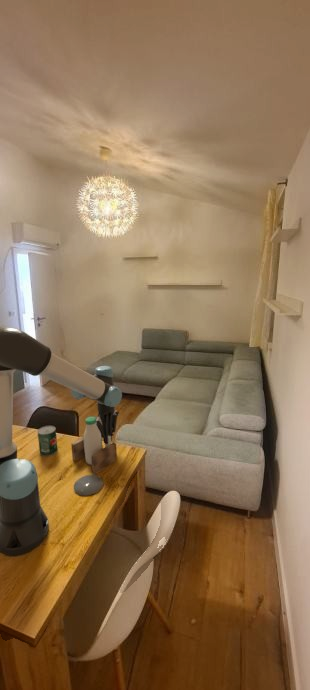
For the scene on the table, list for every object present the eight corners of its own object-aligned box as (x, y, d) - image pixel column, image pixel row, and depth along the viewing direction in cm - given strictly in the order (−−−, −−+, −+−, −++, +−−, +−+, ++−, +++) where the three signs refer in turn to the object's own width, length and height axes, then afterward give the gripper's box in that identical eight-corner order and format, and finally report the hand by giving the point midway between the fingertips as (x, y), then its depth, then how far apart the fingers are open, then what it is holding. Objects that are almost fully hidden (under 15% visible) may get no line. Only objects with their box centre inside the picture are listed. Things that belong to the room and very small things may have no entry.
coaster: (85, 500, 107) (85, 498, 107) (68, 486, 114) (67, 485, 114) (108, 483, 115) (108, 482, 115) (90, 472, 122) (90, 471, 122)
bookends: (95, 474, 121) (94, 456, 119) (72, 459, 131) (71, 443, 129) (116, 460, 130) (116, 443, 128) (94, 447, 140) (93, 432, 138)
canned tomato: (39, 449, 139) (36, 427, 137) (56, 444, 143) (54, 424, 140) (40, 458, 132) (38, 435, 130) (58, 453, 136) (56, 431, 133)
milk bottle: (101, 465, 127) (97, 423, 122) (83, 465, 127) (79, 423, 122) (105, 454, 134) (101, 414, 129) (88, 454, 134) (83, 414, 129)
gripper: (99, 408, 123) (102, 458, 129) (122, 398, 133) (124, 445, 139) (88, 403, 128) (91, 452, 134) (111, 394, 138) (113, 439, 143)
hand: (108, 448), depth 136 cm, fingers closed
